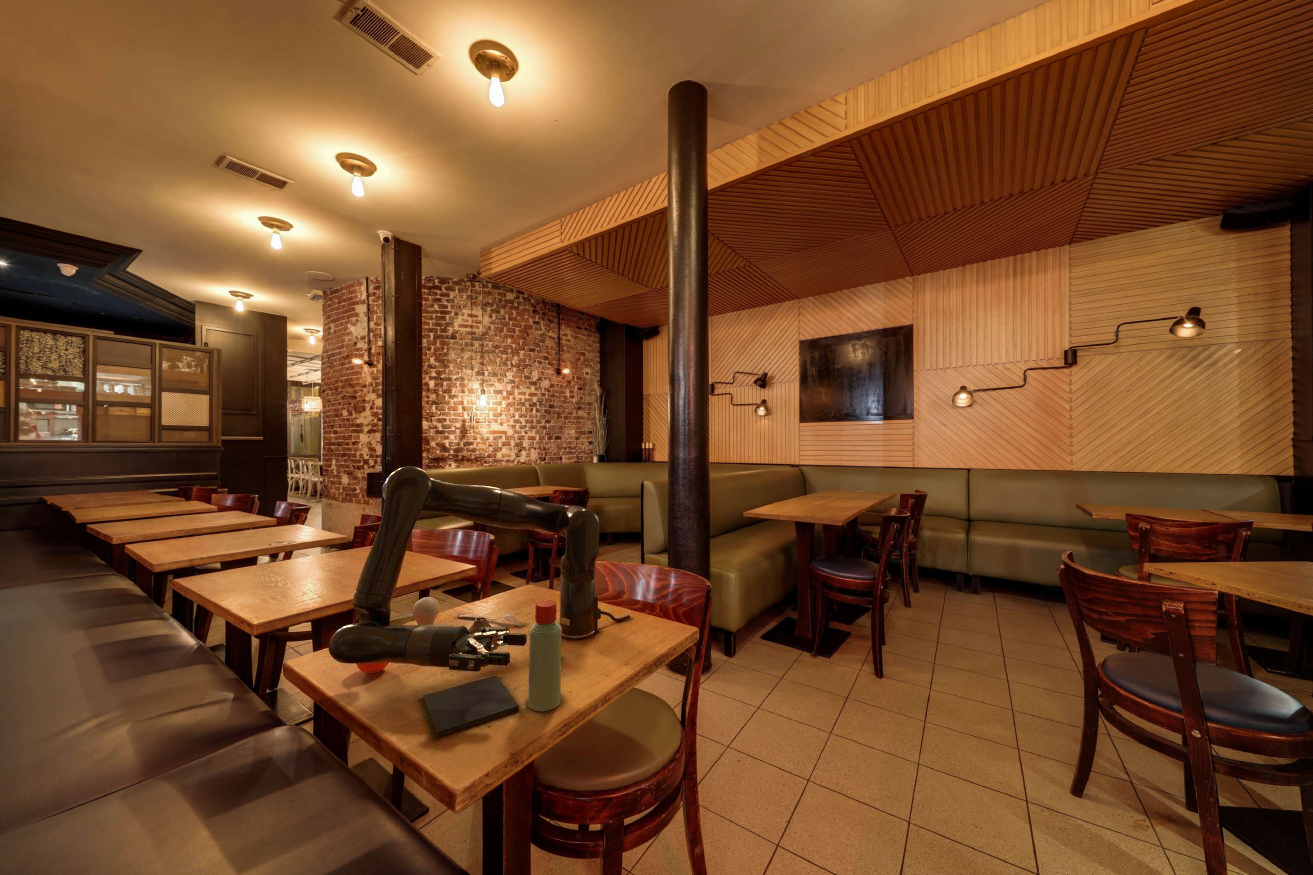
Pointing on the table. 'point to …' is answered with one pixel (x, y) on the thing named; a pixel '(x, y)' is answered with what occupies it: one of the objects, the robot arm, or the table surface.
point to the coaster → (468, 705)
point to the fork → (495, 618)
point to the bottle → (544, 666)
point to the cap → (545, 612)
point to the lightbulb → (426, 611)
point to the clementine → (372, 666)
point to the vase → (479, 626)
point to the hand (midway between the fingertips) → (518, 648)
